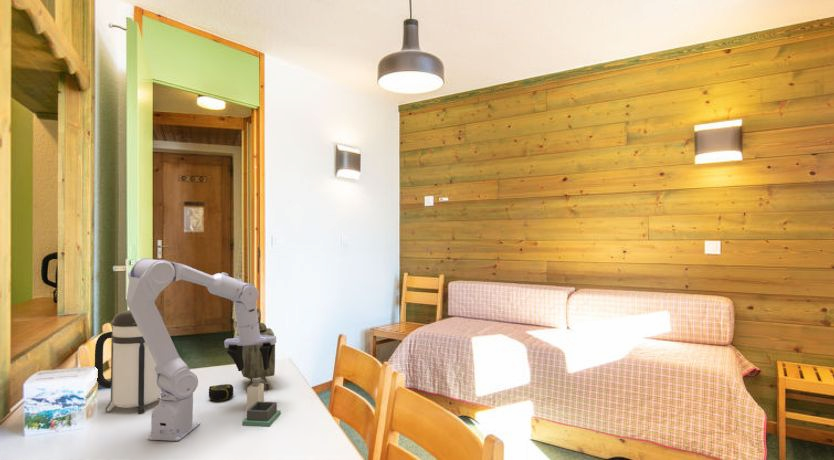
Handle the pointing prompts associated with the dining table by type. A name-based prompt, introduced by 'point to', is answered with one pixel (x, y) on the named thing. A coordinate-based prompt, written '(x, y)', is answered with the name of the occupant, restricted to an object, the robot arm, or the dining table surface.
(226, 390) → the tape measure
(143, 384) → the coffee press
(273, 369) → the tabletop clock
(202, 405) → the dining table surface
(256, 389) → the plug
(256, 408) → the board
